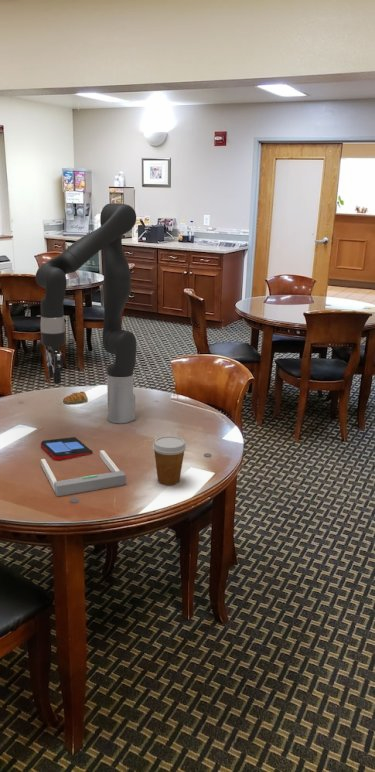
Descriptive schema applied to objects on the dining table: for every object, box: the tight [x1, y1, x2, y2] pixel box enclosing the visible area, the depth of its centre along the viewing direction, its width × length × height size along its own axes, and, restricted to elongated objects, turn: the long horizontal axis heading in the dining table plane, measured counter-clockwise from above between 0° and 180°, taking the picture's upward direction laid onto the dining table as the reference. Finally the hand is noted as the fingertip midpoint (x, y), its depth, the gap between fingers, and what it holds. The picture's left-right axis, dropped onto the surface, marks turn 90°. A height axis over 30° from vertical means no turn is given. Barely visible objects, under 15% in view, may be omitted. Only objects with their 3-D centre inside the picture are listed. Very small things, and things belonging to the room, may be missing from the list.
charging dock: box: [40, 449, 127, 498], centre depth 172 cm, size 19×21×3 cm
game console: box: [40, 436, 93, 461], centre depth 190 cm, size 14×13×2 cm
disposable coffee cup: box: [152, 435, 187, 486], centre depth 169 cm, size 10×10×12 cm
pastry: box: [62, 391, 89, 405], centre depth 234 cm, size 9×7×4 cm
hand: (54, 380), depth 195 cm, fingers open, 6 cm apart
